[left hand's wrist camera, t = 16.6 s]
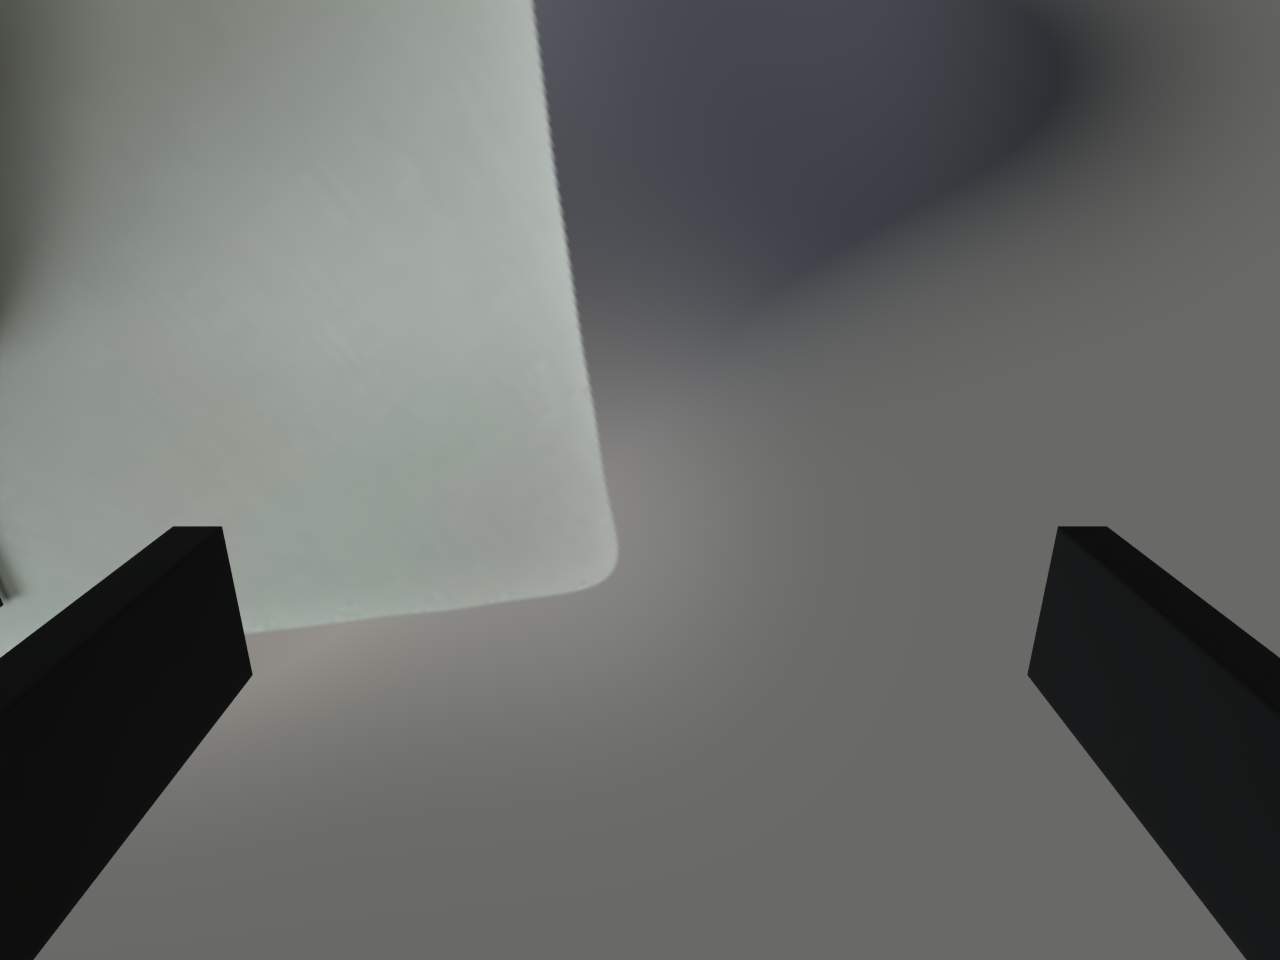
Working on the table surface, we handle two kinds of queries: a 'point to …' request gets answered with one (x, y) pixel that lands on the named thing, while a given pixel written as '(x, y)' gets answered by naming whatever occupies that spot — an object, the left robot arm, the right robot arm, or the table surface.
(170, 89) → the table surface
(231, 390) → the table surface
